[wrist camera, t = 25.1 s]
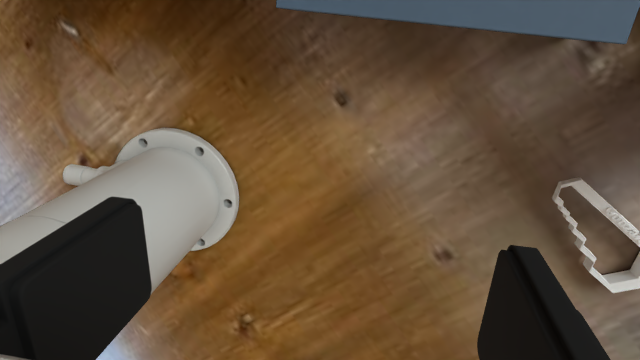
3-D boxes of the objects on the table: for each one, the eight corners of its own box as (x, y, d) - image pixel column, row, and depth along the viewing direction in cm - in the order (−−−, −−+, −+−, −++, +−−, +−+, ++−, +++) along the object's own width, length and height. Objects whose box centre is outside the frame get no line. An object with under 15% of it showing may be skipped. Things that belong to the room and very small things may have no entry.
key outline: (518, 207, 35) (524, 216, 33) (568, 167, 33) (576, 174, 31) (622, 298, 36) (633, 310, 35) (675, 264, 34) (689, 276, 33)
